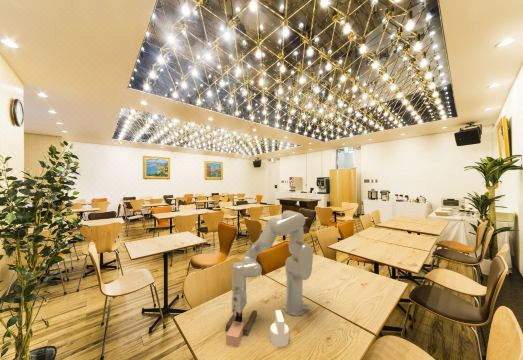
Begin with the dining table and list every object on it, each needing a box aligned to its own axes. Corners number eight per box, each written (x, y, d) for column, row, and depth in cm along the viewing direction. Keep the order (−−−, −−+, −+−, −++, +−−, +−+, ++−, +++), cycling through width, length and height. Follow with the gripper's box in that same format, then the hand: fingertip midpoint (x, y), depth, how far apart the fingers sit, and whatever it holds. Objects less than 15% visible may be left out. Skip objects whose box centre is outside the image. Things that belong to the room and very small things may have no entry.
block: (244, 332, 109) (244, 322, 109) (238, 347, 99) (238, 337, 99) (233, 330, 110) (233, 321, 110) (226, 345, 100) (226, 335, 100)
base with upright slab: (269, 333, 107) (269, 310, 107) (286, 332, 108) (286, 309, 108) (271, 348, 98) (271, 322, 98) (290, 346, 99) (290, 321, 99)
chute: (257, 315, 121) (257, 310, 121) (247, 336, 106) (247, 330, 106) (237, 312, 125) (237, 307, 125) (225, 331, 109) (225, 325, 109)
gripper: (240, 295, 103) (240, 332, 103) (250, 281, 117) (250, 314, 117) (226, 293, 105) (226, 329, 105) (238, 279, 119) (237, 311, 119)
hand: (238, 321), depth 111 cm, fingers closed
